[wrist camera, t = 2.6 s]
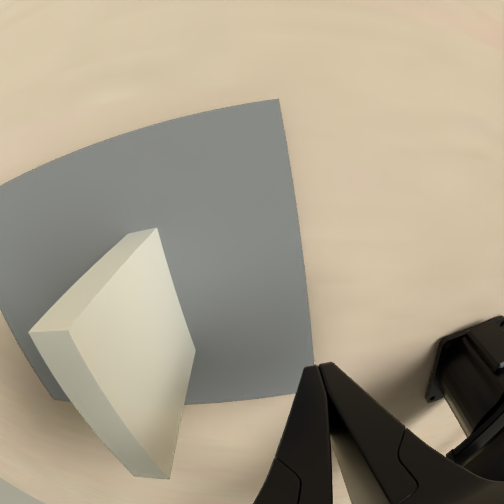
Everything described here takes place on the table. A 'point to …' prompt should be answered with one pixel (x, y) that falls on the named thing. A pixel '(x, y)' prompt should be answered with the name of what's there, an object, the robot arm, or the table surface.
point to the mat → (175, 242)
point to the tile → (124, 353)
